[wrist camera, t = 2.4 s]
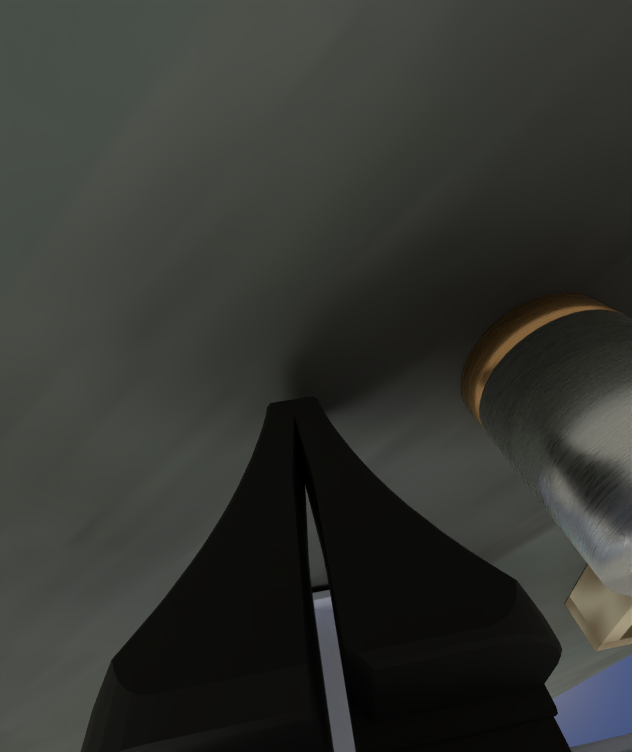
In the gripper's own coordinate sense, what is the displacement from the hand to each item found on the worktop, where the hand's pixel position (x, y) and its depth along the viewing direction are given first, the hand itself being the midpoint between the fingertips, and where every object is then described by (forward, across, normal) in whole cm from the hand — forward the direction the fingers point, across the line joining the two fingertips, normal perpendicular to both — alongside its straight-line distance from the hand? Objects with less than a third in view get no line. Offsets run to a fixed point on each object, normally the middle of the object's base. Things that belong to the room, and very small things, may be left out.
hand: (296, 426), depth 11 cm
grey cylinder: (+1, -8, 0) cm, 8 cm away
